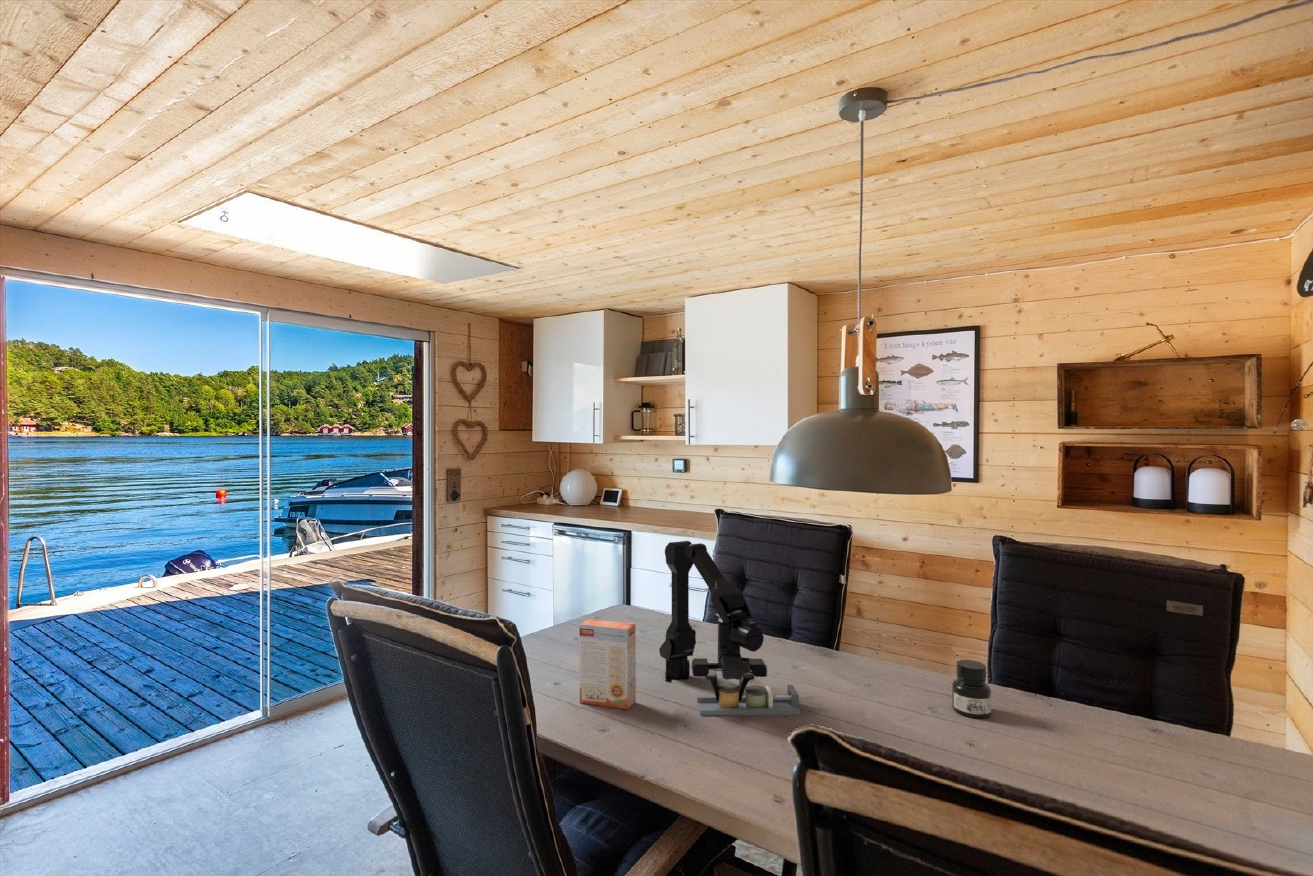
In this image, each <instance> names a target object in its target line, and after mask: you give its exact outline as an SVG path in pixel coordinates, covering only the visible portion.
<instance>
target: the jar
mask: <svg viewBox="0 0 1313 876" xmlns="http://www.w3.org/2000/svg"><path fill="white" fill-rule="evenodd" d="M718 692H719V701H718V705H719V706H720V707H721V708H738V707H739V684H736V683H732V682H722V683H720V684H718Z"/></svg>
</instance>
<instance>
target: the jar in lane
mask: <svg viewBox="0 0 1313 876" xmlns="http://www.w3.org/2000/svg"><path fill="white" fill-rule="evenodd" d="M766 693H767V689H766V688H765V687H764V686H762V685H757V684H751V685H746V687H745V696H746V708H766Z"/></svg>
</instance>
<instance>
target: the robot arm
mask: <svg viewBox="0 0 1313 876" xmlns="http://www.w3.org/2000/svg"><path fill="white" fill-rule="evenodd" d="M664 556H665V563H666V565H667V567H668V569H669V570H670V572H671V621H670V624H669V625H668V628H667V629H666V632H665V640H664V642H662V644H661V645H660V647H659V656H660V657H661V658H663V659H664V660H665V671H664V675H665V676H664V677H665V681H666V682H672V681H673V680H674V681H675V680H676V681H681V680H682V681H686V680H689V677H690V673H691V672H690V668H691V671H692V676H693V677H696V678H697V677H704V679H705V680H708V681H710V683H711V686H712V688H713V691H714V696H716V699H717V701H719V692H718V685H719V684H718V676H717V672H721V676H722V679H724V680H738V686H739V702H740V701H741V699H742V696H744V692H745V691H746V687H747V686H748V684H749V682H750V681H751V680H752V681H754V680H755V678H756V677H757V678H765V677H768V668H767V667H768V666H767V664H766V662H765V660H763V658H750V657H743V656H741V655H742V654H741V648H744V649H745V650H747V651H750V652H756V651H759V649H761V647H762V645H763V643H764V640H765V639H764V635H763V632H762V630H761V629H760V628H759V627H758V623H757V622H756V621H753V620H752V619H753V615H752V614H751V612H752V611H751V609H750V607H749V606H748V603H747V601H746V599H745V596H744V594H743V592H742V591H741V590H740V589H739V587H737V585H735V584H734V583H732V582H730V581H729V580H727V579H726V578H725V576H724V574H722V572H721V570H720V569H719V567H718V566H717V564H716V562H715V561H714V560H713V558H712V557H711V555H710V554H709V552H708V549H707V546H706V544H704V543H702V542H700V543H692V542H691V541H690V540H682V541H671V542H669V543H667V545H665V548H664ZM693 566H694V567H695V568H696V570H697V572H698V573H699V575H700V577H702V579H703V581H704V583H705V584H706V586H707V588H708V589H709V591H710V601H711V604H712V605H713V608H714V609H715V612H716V613H715V614H714V615H713V616H712V618H713V619H715V620H716V621H717V662H709V661H708V658H704V657H703V658H695V657H694V658H693V659H692V660H691V667H690V660H689V659H688V657H693V656H694V655H693V654H694V651H695V647H696V644H697V641H696V639H697V638H696V634H697V632H696V630H695V629H693V627H692V625H691V624H690V622H689V621H690V619H689V617H690V611H689V610H690V607H689V599H690V598H689V597H690V595H689V593H690V591H689V585H690V583H689V578H690V577H689V575H690V574H689V573H690V571H691V569H692V567H693ZM740 612H741V613H740Z"/></svg>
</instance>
